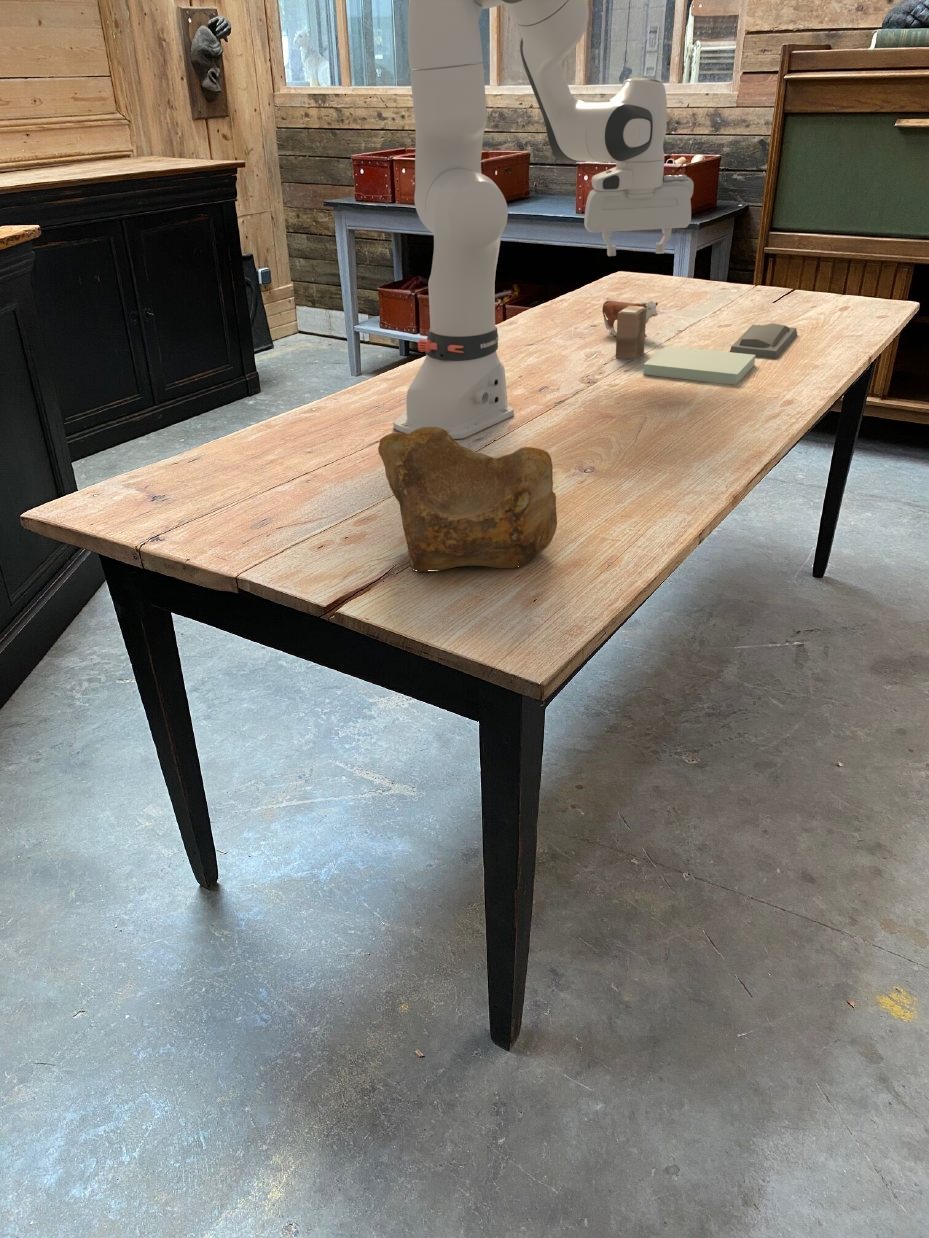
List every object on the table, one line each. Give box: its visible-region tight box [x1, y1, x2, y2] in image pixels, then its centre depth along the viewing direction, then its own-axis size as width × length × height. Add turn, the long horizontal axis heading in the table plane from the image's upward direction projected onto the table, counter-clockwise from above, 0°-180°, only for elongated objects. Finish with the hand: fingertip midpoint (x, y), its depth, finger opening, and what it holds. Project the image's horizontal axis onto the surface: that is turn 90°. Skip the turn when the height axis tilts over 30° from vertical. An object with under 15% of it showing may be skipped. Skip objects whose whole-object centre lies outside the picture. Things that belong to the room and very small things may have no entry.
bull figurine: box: [602, 299, 659, 338], centre depth 204 cm, size 4×13×8 cm, turn 53°
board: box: [642, 345, 756, 386], centre depth 183 cm, size 14×18×2 cm
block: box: [615, 306, 647, 361], centre depth 191 cm, size 6×4×9 cm, turn 152°
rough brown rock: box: [377, 427, 558, 571], centre depth 114 cm, size 23×16×15 cm
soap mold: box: [729, 322, 798, 360], centre depth 197 cm, size 10×20×4 cm, turn 152°
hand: (635, 254), depth 184 cm, fingers open, 8 cm apart
